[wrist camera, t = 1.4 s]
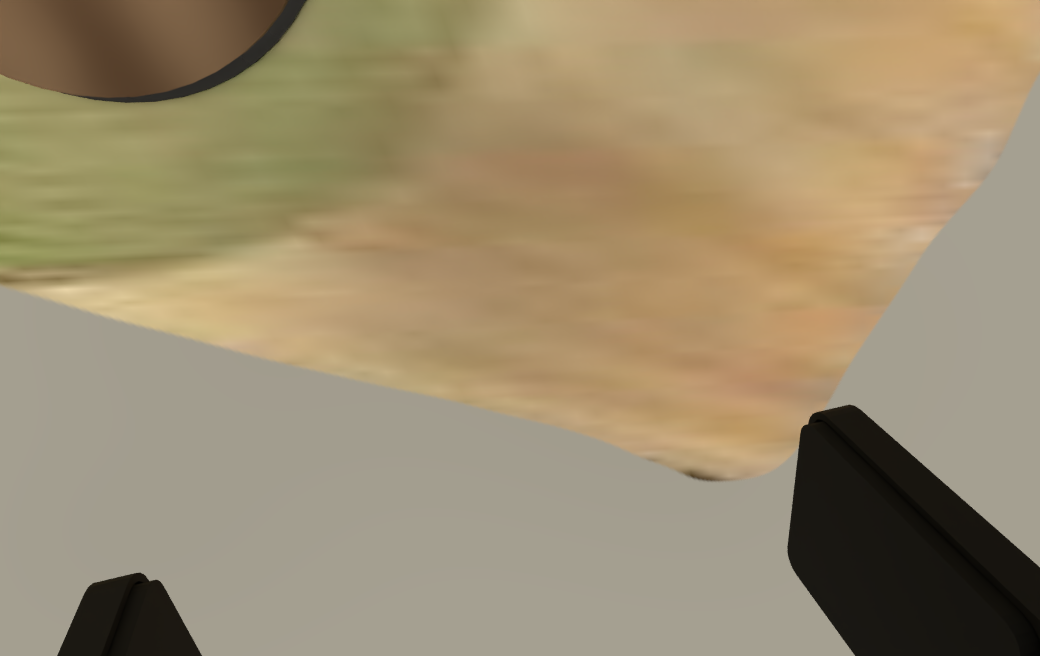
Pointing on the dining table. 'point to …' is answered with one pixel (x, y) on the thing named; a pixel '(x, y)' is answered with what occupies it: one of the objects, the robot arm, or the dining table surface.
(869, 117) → the dining table surface
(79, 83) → the turntable
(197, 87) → the turntable base
